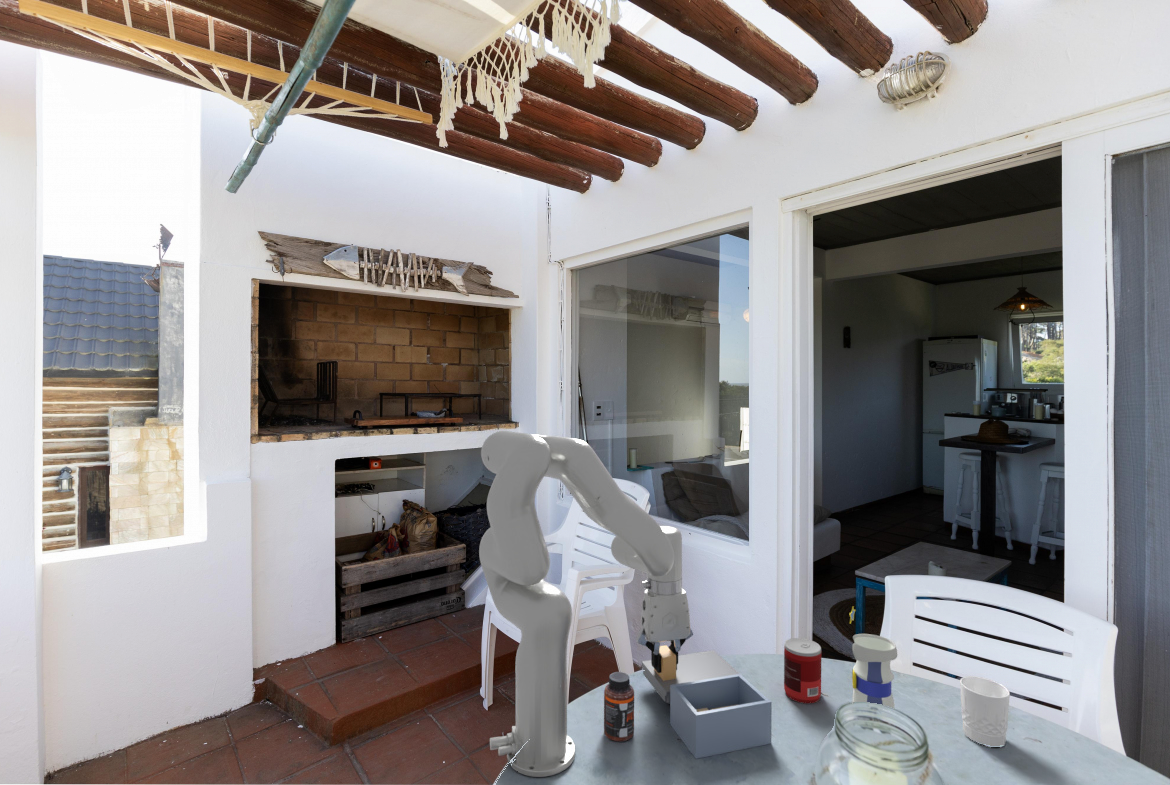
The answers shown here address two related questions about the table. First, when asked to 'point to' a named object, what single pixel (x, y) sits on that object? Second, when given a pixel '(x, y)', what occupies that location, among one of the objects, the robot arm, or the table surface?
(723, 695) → the tub
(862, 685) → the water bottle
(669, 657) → the lid
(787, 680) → the canned food
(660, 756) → the table surface
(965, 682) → the white cup
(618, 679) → the supplement bottle
